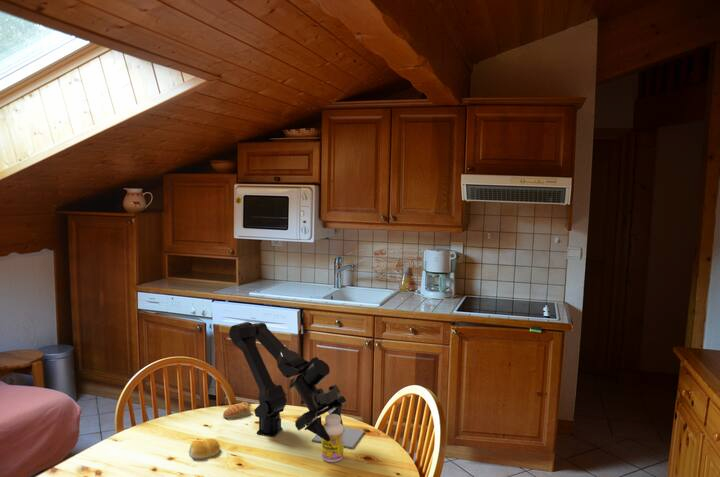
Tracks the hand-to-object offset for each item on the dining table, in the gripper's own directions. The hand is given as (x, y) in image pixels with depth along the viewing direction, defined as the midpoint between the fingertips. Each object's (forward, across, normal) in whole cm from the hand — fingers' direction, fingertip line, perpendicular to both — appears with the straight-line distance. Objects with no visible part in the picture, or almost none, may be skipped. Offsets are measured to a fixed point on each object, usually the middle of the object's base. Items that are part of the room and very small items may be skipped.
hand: (336, 436), depth 157 cm
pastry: (-28, +2, +39) cm, 48 cm away
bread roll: (-19, -22, +30) cm, 42 cm away
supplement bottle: (+4, 0, +6) cm, 7 cm away
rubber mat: (-1, +12, +11) cm, 16 cm away
